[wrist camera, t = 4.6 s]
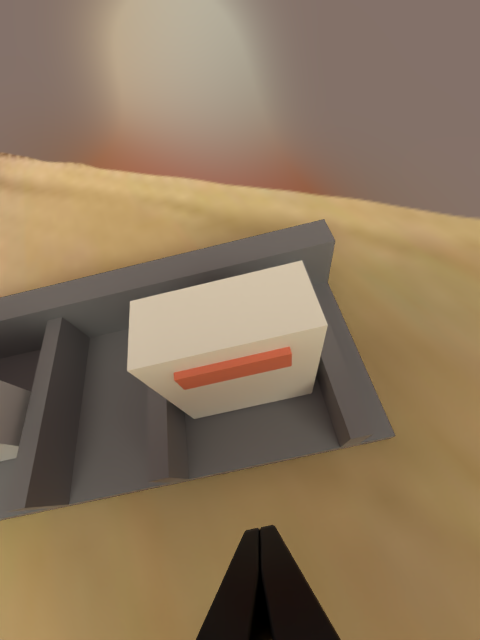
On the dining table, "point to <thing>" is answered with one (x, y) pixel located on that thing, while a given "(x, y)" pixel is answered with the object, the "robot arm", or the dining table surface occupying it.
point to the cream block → (229, 341)
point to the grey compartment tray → (149, 406)
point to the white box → (12, 418)
